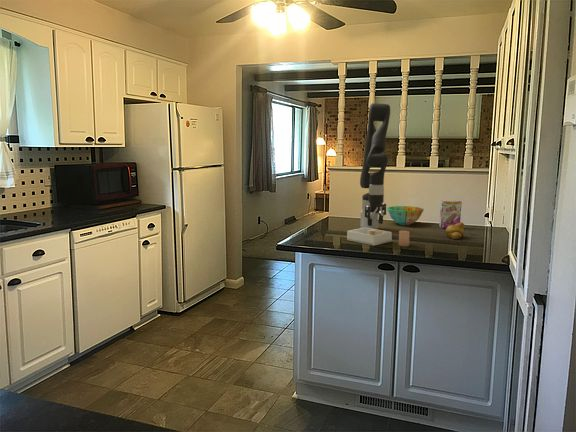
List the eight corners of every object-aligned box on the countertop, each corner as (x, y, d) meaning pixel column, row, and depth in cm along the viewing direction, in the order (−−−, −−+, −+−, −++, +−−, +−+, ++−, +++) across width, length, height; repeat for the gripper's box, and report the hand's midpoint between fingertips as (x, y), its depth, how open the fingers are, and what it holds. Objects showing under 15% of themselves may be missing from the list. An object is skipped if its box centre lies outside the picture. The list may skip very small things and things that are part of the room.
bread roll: (463, 240, 240) (464, 225, 239) (443, 239, 244) (444, 224, 242) (464, 236, 251) (465, 221, 250) (445, 234, 255) (446, 220, 254)
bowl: (388, 220, 302) (389, 205, 300) (424, 222, 295) (424, 206, 293) (384, 226, 281) (384, 210, 280) (421, 228, 274) (422, 211, 272)
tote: (347, 240, 242) (347, 230, 241) (365, 236, 251) (365, 227, 250) (373, 245, 229) (373, 235, 228) (391, 241, 238) (391, 232, 237)
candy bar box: (440, 228, 274) (442, 201, 271) (439, 226, 279) (440, 200, 276) (460, 228, 273) (461, 201, 270) (458, 227, 277) (459, 200, 275)
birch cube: (368, 240, 237) (368, 230, 236) (374, 238, 240) (374, 229, 239) (376, 241, 233) (376, 231, 232) (382, 240, 236) (382, 230, 236)
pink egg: (396, 245, 230) (397, 231, 229) (402, 243, 233) (403, 230, 232) (405, 246, 226) (405, 232, 225) (410, 245, 229) (411, 231, 228)
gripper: (379, 191, 240) (378, 222, 243) (361, 193, 231) (360, 225, 234) (391, 192, 234) (389, 224, 237) (373, 195, 225) (372, 227, 228)
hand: (375, 224), depth 236 cm, fingers open, 8 cm apart
